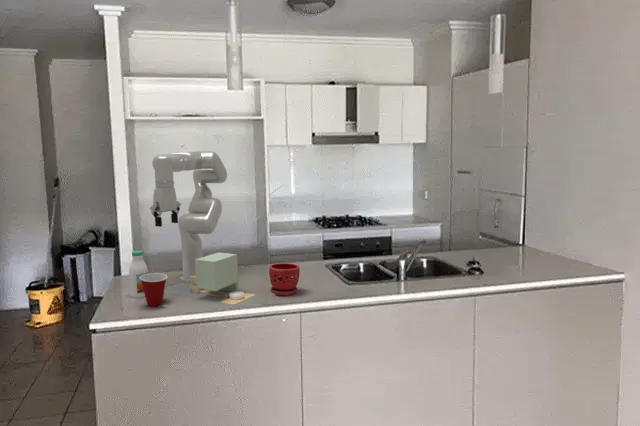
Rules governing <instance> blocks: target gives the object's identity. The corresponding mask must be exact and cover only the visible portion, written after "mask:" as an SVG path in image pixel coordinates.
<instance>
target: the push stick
mask: <svg viewBox="0 0 640 426" xmlns="http://www.w3.org/2000/svg"><path fill="white" fill-rule="evenodd" d="M188 281H189V284H190V292H191V293H197V294H198V293H200V294H206V295H212V296H218V297H224V298H229V293H225V292H218V291H212V290H206V289H201V288H197V286H196V275H193V276H190V277H189V280H188Z"/></svg>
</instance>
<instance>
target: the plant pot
mask: <svg viewBox="0 0 640 426" xmlns="http://www.w3.org/2000/svg"><path fill="white" fill-rule="evenodd" d="M300 271H301V270H300V266H299V264H296V263H290V262H289V263H286V262H285V263H280V262H279V263H273V264H270V265H269V267H268V275H269V282H270V285H271V286H272V287H270V288H269V289H270V292H271V293H273V294H275V296H291V295H293V294H295V293H297V292H298V287H297V285H298V283H299V280H300Z"/></svg>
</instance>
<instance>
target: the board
mask: <svg viewBox="0 0 640 426" xmlns="http://www.w3.org/2000/svg"><path fill="white" fill-rule="evenodd" d="M206 290H208V289H206ZM212 291H214V290H212ZM216 291H218V292H225V293H231V292H227V291H221V290H216ZM164 294H168V295H169V294H170V295H175V296H180V297H181V296H182V297H187V298H193V299H198V300H205V301H210V302H216V303H221V301H224V300H226V299H229V298H224V297H218V296H212V295H206V294H200V293H198V294H197V293H191V292H190V283H182V282H178V283H175V284H172V285H168V286H165V288H164Z"/></svg>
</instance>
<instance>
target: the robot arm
mask: <svg viewBox="0 0 640 426" xmlns="http://www.w3.org/2000/svg"><path fill="white" fill-rule="evenodd" d="M152 167H153V169H154V180H155V181H154V183H155V184H154V185H155V188H154V189H153V197H152V198H153V199H152V200H153V201H152V204H153V205H152V206H150V207H149V209H150V212H151V214H152V216H153V218H154V222H155V223H154V224H155V225H154V226H155V227H159V228H160V227H162V226H163V224H162V223H163V221H162V217H161V216H162V214H163V213H166V212H167V213H168V212H171V214H170V215H171V216H170V218H171V220H170V221H171V224H177V225H178V226H177V227H178V229H179V234H180V235H179V236H180V242H181V243H180V244H181V260H182V262H181V263H182V275H181V276H180V277H179V279H180V280H182V281H190V280H189V277H190V276H193V275H196V265H195V259H198V258H202V257H204V256H203V242H202V239H201V237H200V235H210V234H212V233H213V232H214V231H215V229H216V228H217V225H218V222H219V220H220V217H221V215H222V211H223V205H222V201H221V200H220V199H219V198H217V197H213V192H212V190H211V188H210V187H209V186H208V185H207V184H223V183H225V182H226V180H227V178H228V173H227V169H226V167H225V165H224V163H223V161H222V159H221V158H220V155H218V153H216V151H212V150H211V151H209V150H208V151H207V150H205V151H204V150H202V151H200V150H199V151H188V152H187V151H185V152H184V151H183V152H177V153H165V154H157V155H155V156H154V157H153V159H152ZM186 171H193V172H192V178H193V183H194V189H195V191H194V194H193V195H192V198H191V200H190V203H189V204H188V210H187V211H188V213H183V214H182V215H180V216H179V215H178V214H179V213H180V209H181V205H182V203H181V202H179V201H178V199H177V193H176V188H175V181H174V173H181V172H186Z"/></svg>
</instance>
